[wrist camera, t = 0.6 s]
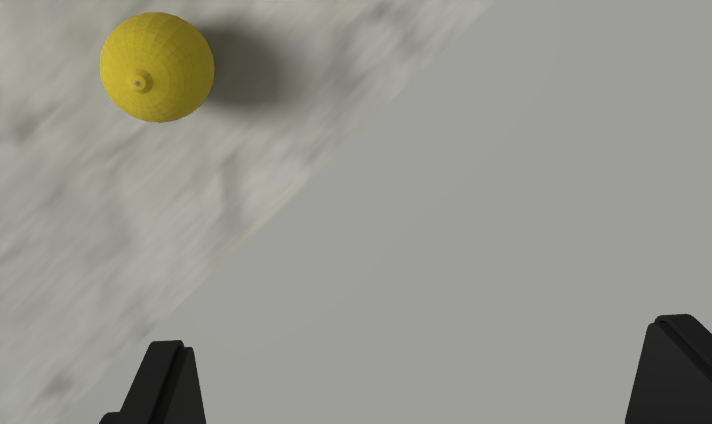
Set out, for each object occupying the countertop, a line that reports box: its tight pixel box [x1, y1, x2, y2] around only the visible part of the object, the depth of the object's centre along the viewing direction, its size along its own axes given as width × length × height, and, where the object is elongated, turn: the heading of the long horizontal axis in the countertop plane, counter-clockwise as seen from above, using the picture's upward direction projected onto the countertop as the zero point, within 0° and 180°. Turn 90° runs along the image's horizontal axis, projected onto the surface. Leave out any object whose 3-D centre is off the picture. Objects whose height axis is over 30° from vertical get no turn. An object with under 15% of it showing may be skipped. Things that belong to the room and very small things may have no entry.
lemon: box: [99, 12, 215, 123], centre depth 29 cm, size 6×6×8 cm
